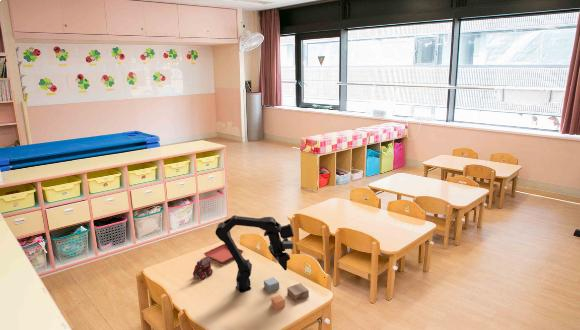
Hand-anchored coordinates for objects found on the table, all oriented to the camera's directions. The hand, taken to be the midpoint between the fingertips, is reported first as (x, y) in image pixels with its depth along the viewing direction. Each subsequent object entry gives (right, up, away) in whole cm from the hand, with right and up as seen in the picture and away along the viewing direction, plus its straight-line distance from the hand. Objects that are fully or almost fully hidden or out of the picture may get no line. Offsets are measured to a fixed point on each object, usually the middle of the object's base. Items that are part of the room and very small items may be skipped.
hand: (282, 266), depth 218 cm
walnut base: (+8, -14, -5) cm, 17 cm away
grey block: (-6, -12, +3) cm, 14 cm away
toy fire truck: (-46, -10, +17) cm, 50 cm away
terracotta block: (-2, -16, -13) cm, 21 cm away
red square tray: (-38, -4, +39) cm, 54 cm away
